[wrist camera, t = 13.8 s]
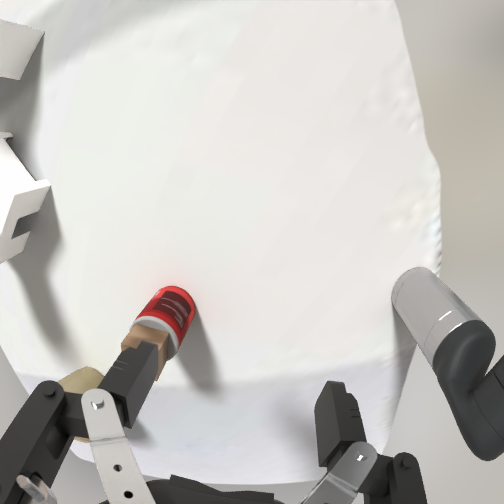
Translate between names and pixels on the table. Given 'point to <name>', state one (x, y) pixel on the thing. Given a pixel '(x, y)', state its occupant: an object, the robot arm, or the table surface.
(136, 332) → the walnut cube
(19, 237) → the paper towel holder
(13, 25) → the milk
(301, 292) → the table surface
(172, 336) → the canned food
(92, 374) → the plant pot
